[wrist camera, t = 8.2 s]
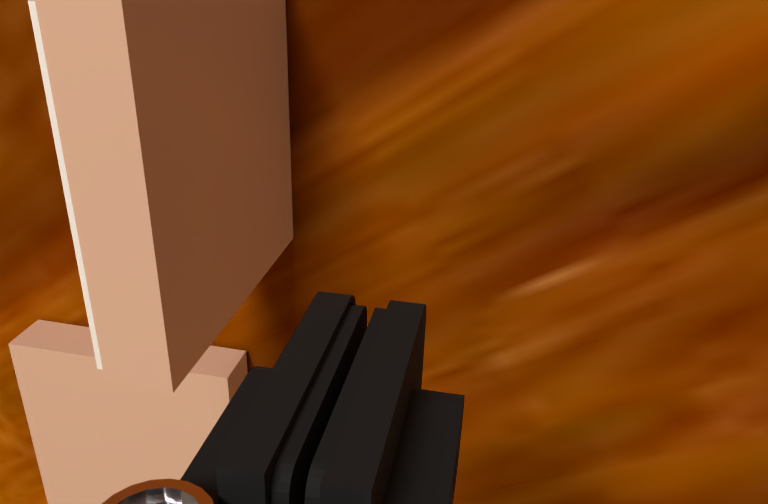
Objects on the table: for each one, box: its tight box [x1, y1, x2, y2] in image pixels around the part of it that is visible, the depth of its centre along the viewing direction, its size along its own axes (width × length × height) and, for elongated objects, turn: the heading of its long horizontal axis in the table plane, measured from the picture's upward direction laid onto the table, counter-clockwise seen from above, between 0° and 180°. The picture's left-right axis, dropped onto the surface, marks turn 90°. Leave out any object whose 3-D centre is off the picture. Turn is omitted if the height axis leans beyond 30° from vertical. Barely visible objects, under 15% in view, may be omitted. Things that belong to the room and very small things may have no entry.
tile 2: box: [9, 320, 248, 504], centre depth 29 cm, size 9×2×9 cm
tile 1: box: [28, 0, 293, 393], centre depth 19 cm, size 9×2×9 cm, turn 179°
